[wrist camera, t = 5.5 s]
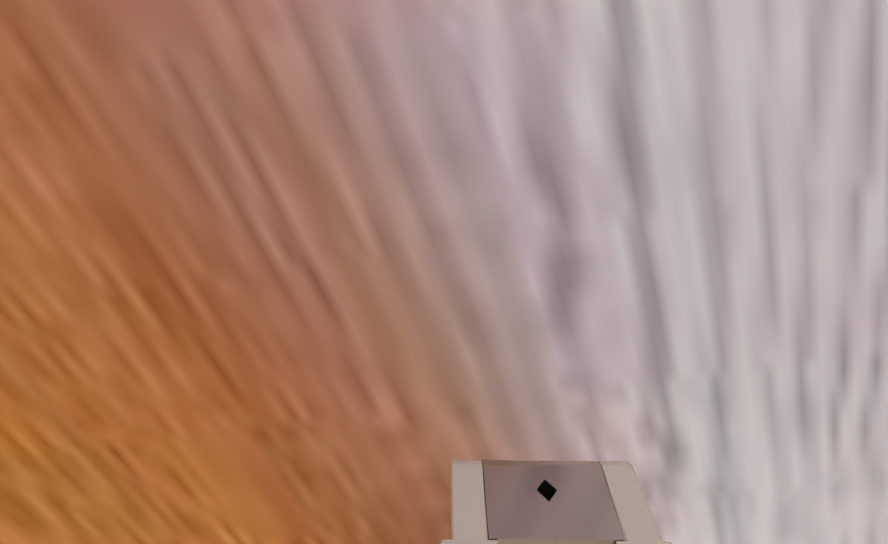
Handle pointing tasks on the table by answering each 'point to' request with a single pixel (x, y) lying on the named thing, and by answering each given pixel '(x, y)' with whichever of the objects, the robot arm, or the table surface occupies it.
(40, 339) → the table surface
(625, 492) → the robot arm
